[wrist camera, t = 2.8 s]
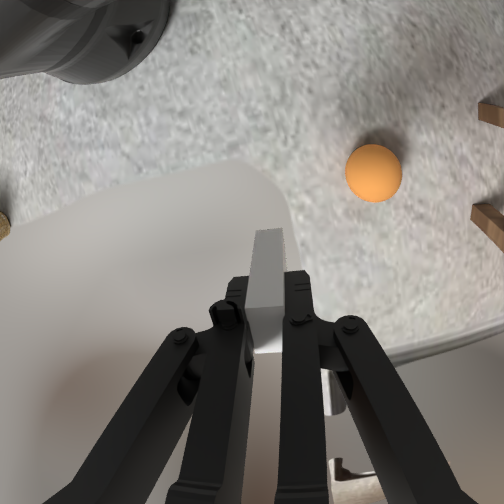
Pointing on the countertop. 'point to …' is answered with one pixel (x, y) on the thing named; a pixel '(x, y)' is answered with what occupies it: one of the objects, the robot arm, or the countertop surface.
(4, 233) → the sprinkles bottle
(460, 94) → the countertop surface
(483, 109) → the bridge
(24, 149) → the countertop surface
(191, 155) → the countertop surface
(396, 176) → the ball
